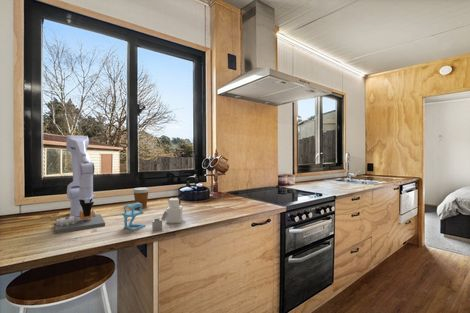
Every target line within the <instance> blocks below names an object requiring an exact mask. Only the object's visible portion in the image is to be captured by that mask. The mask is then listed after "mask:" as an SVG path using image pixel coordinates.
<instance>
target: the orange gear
mask: <svg viewBox="0 0 470 313" xmlns="http://www.w3.org/2000/svg"><path fill="white" fill-rule="evenodd" d="M93 212H94V209H92V208H91V212H90V216H87V217H84V213H83V210H81V211H80V216H79V217H80V219H89V218H92V217H93Z"/></svg>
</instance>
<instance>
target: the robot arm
mask: <svg viewBox="0 0 470 313" xmlns="http://www.w3.org/2000/svg"><path fill="white" fill-rule="evenodd" d="M65 139H66V141H65V144H66V146H65V147H66V151H68V152H70V154H71V167H72V168H71V169H72V181H71V182H70V183H69V184H68V185H67V188H66V197H67V198H68V199H69V200H70V202H69V203H70V212H69V217H72V216H74V217H80V211H81V210H83V213H84V217H87V216H90V212H91V209H92V208H93V205H94V203H95V202H94V201H93V198H96V197H97V196H96V194H94V174H95V170H96V169H95V163H94V162H93V161H92V160H91V157H90V154H89V153H88V152H87V150H88V147H89V145H90V144H89V142H90V140H89V137H88V135H74V134H73V135H72V134H71V135H70V134H67V135H66V138H65Z"/></svg>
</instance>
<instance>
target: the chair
mask: <svg viewBox="0 0 470 313" xmlns="http://www.w3.org/2000/svg"><path fill="white" fill-rule="evenodd" d="M137 207H140V209H139V211H138V210H135V209H138V208H137ZM122 208H123V209H124V212H123V213H122V216H123V219H124V222H123V223H124V228H125V229H127V230H129V231H131V232H135V231H137V230H140V229H144V228H145V227H146V224H144V223H133V222H134V220H135V218H136V217H137V216H140V215H143V214H144V211H142V209H143V208H142V204H141V203H139V202H136V203H135V202H134V203H132V204H130V203H129V204H126V205H123V207H122ZM126 208H129V209H130V211H128V210H127V209H126ZM127 211H128V212H127ZM128 218H131V219H130V220H129V223H128ZM132 227H134V228H132Z"/></svg>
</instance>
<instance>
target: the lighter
mask: <svg viewBox="0 0 470 313" xmlns="http://www.w3.org/2000/svg"><path fill="white" fill-rule="evenodd" d="M167 215H168V212H167V211H166V210H165V211H164V212H163V214H162V216H161V218H160V217H155V218H154V220H152V221H151V222H152V223H151V225H152V226H151V227H152V228H151V230H152V231H154V232H155V230H156V231H160V230H163V221H165V222H166V217H167Z"/></svg>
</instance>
